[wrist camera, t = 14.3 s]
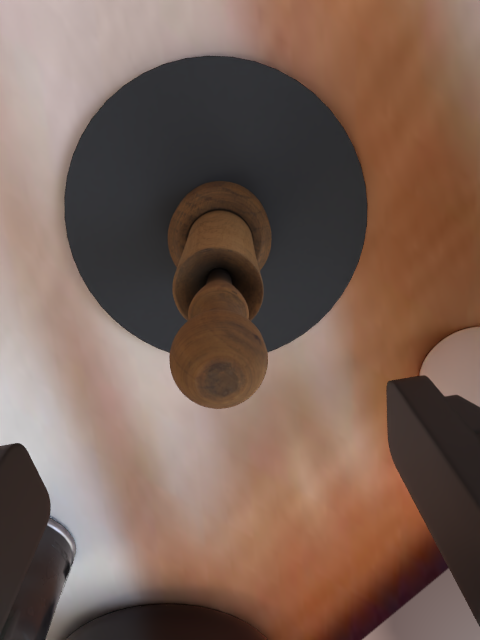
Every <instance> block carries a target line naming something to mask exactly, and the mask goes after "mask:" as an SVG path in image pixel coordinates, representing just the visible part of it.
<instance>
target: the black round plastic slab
mask: <svg viewBox="0 0 480 640" xmlns="http://www.w3.org/2000/svg"><path fill="white" fill-rule="evenodd" d="M65 640H267V639H266V638H265V636H263V635H262V634H261V633H260V632H259V631H258V630H257V629H255V628H254V627H252V626H251V625H249V624H247V623H246V622H244V621H242V620H240V619H238V618H236V617H234V616H231V615H229V614H226V613H223V612H220V611H216V610H213V609H209V608H204V607H198V606H191V605H180V604H156V605H145V606H137V607H132V608H127V609H123V610H119V611H115V612H112V613H109V614H106V615H104V616H101V617H99V618H97V619H95V620H92V621H90V622H89V623H87V624H85V625H83V626H82V627H80V628H79V629H77V630H76V631H75V632H74V633H72V634H71V635H70V636H69V637H67V638H66V639H65Z"/></svg>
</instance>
